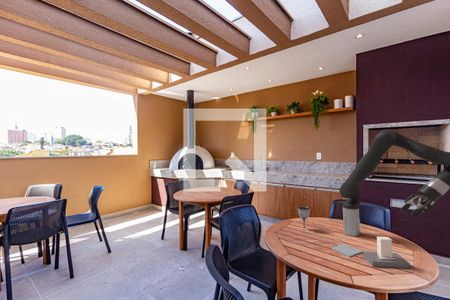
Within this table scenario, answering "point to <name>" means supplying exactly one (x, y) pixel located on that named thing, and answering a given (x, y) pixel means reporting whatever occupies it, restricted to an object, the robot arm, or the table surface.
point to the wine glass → (303, 213)
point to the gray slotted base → (386, 260)
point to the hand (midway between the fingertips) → (407, 213)
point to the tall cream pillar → (384, 247)
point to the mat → (346, 250)
